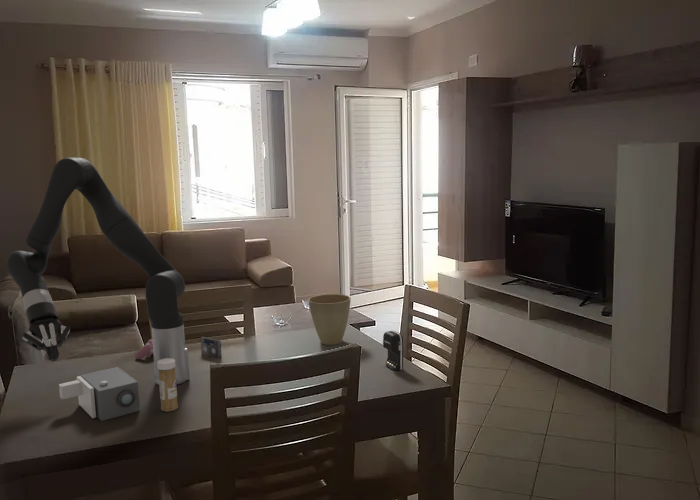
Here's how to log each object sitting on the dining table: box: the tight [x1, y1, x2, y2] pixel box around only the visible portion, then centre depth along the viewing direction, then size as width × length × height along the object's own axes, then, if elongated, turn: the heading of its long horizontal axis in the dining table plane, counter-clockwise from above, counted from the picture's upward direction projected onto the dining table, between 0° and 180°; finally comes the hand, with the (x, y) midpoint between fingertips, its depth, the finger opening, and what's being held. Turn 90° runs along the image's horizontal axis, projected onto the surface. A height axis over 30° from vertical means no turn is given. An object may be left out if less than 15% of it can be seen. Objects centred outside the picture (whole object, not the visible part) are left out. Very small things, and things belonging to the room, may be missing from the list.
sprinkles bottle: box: [157, 358, 179, 412], centre depth 168 cm, size 5×5×14 cm
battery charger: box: [382, 330, 404, 371], centre depth 196 cm, size 7×4×11 cm, turn 27°
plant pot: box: [307, 293, 352, 346], centre depth 224 cm, size 15×15×16 cm
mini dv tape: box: [200, 336, 223, 359], centre depth 213 cm, size 8×2×6 cm, turn 54°
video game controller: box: [135, 338, 154, 360], centre depth 215 cm, size 10×5×7 cm, turn 169°
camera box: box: [80, 366, 141, 422], centre depth 170 cm, size 10×17×9 cm, turn 38°
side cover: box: [58, 375, 97, 419], centre depth 166 cm, size 6×12×8 cm, turn 38°
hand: (54, 359), depth 174 cm, fingers closed
